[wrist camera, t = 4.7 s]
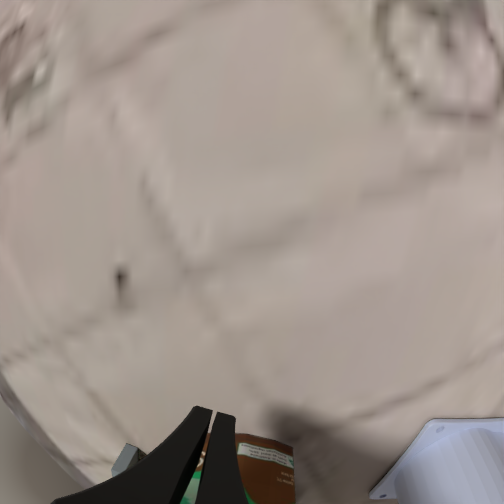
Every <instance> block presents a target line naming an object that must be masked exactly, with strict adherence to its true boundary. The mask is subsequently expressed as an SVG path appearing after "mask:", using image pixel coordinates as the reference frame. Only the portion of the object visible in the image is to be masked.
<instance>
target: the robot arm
mask: <svg viewBox="0 0 504 504" xmlns="http://www.w3.org/2000/svg"><path fill="white" fill-rule="evenodd" d="M212 412H213V410H210V409H206V408H203V407H200V406H194V407H193V408H192V410H191V411H190V413H189V414H188V415H187V417H186V418H185V419H184V420H183V422H182V423H181V424H180V425H179V426H178V427H177V428H176V429H175V430H174V431H173V432H172V433H171V434H170V435H169V436H168V437H167V438H166V439H165V440H164V441H163V442H162V443H161V444H160V445H159V446H158V447H156V448H155V449H154V450H153V451H152V452H150V453H149V454H148V455H147V456H145V457H144V458H143V459H141V460H140V461H139V462H137V463H136V464H134V465H133V466H131V467H130V468H128V469H126V470H125V471H123V472H121V473H120V474H118V475H116V476H114V477H113V478H111V479H109V480H107V481H105V482H102V483H100V484H98V485H96V486H93V487H91V488H89V489H86V490H84V491H81V492H78V493H75V494H71V495H68V496H65V497H61V498H58V499H55V500H54V501H53V502H52V503H51V504H180V503H181V500H182V498H183V496H184V494H185V492H186V490H187V488H188V485H189V483H190V481H191V479H192V477H193V475H194V472H195V470H196V468H197V466H198V463H199V460H200V457H201V454H202V451H203V448H204V444H205V441H206V437H207V433H208V428H209V424H210V420H211V416H212ZM235 422H236V418H235V417H234V416H232V415H228V414H224V413H221V412H217V414H216V417H215V420H214V423H213V426H212V430H211V434H210V438H209V442H208V446H207V450H206V454H205V458H204V462H203V466H202V471H201V476H200V481H199V486H198V491H197V497H196V501H195V504H249V503H248V500H247V497H246V494H245V490H244V487H243V483H242V479H241V475H240V470H239V465H238V459H237V453H236V443H235ZM369 498H370V499H397V500H398V504H504V418H492V419H433V420H430V421H429V422H427V424H426V425H425V426H424V427H423V429H422V430H421V432H420V433H419V434H418V436H417V437H416V438H415V440H414V441H413V442H412V444H411V445H410V446H409V447H408V449H407V450H406V451H405V453H404V454H403V455H402V456H401V458H400V459H399V460H398V461H397V462H396V464H395V465H394V466H393V467H392V468H391V470H390V471H389V472H388V473H387V474H386V475H385V476H384V478H383V479H382V480H381V481H380V482H379V483H378V484H377V485H376V486H375V487H374V489H373V490H372V491H371V492H370V493H369Z"/></svg>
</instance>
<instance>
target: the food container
mask: <svg viewBox="0 0 504 504" xmlns="http://www.w3.org/2000/svg"><path fill="white" fill-rule="evenodd" d="M210 434H211V433H207V437H206V441H205V444H204V448H203V451H202V454H201V457H200V460H199V463H198V466H197V468H196V470H195V472H194V475H193V477H192V479H191V481H190V483H189V485H188V488H187V490H186V492H185V494H184V496H183V498H182V500H181V503H180V504H195V501H196V497H197V491H198V486H199V481H200V476H201V471H202V466H203V462H204V458H205V454H206V450H207V446H208V442H209V438H210ZM235 443H236V453H237V459H238V465H239V470H240V475H241V479H242V483H243V487H244V490H245V494H246V497H247V500H248V503H249V504H296V502H295V482H294V464H293V448H292V447H290V446H287V445H285V444H282V443H280V442H277V441H275V440H271V439H266V438H262V437H257V436H253V435H249V434H239V433H235Z"/></svg>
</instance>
